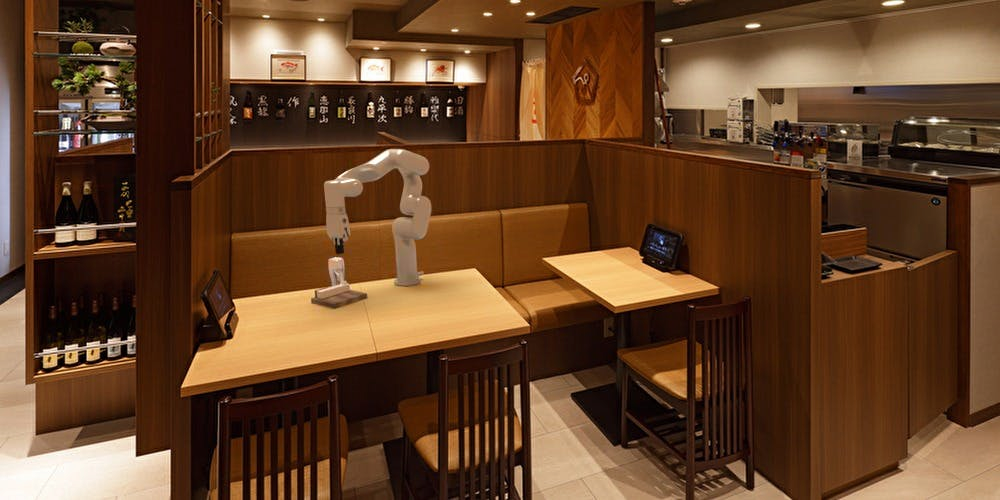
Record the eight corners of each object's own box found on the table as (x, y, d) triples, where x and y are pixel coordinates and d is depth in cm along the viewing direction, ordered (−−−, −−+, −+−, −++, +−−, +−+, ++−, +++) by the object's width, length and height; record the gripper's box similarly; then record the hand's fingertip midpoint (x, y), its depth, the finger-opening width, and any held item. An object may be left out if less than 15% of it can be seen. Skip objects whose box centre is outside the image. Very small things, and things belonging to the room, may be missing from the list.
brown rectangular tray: (344, 292, 256) (343, 281, 255) (367, 297, 248) (366, 286, 247) (311, 302, 242) (310, 291, 241) (334, 308, 234) (333, 297, 232)
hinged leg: (345, 289, 253) (344, 279, 252) (349, 290, 252) (349, 280, 251) (317, 297, 242) (316, 287, 241) (321, 298, 240) (320, 289, 239)
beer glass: (342, 293, 255) (339, 260, 252) (327, 292, 257) (325, 260, 253) (348, 288, 262) (346, 257, 259) (335, 288, 263) (332, 256, 260)
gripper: (355, 210, 232) (358, 253, 237) (331, 208, 241) (335, 249, 245) (340, 213, 226) (344, 257, 231) (316, 210, 235) (321, 253, 239)
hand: (339, 253), depth 238 cm, fingers closed
